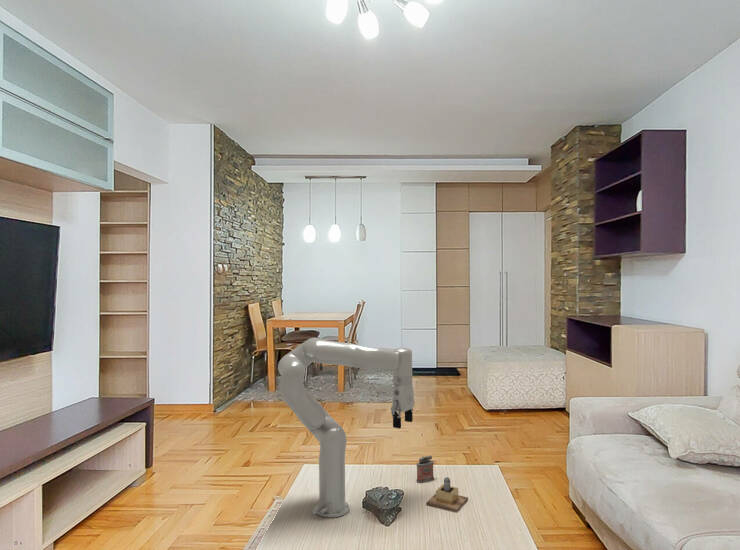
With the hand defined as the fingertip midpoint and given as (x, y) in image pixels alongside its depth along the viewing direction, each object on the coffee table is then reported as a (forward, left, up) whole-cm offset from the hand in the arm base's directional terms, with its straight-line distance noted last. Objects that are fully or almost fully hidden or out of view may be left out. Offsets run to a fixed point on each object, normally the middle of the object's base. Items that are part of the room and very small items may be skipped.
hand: (402, 424), depth 191 cm
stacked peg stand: (+5, -16, -28) cm, 33 cm away
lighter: (+20, 0, -28) cm, 35 cm away
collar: (+5, -16, -27) cm, 32 cm away
